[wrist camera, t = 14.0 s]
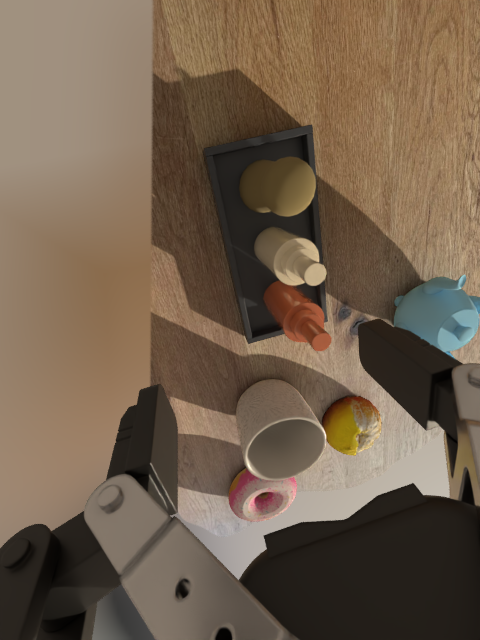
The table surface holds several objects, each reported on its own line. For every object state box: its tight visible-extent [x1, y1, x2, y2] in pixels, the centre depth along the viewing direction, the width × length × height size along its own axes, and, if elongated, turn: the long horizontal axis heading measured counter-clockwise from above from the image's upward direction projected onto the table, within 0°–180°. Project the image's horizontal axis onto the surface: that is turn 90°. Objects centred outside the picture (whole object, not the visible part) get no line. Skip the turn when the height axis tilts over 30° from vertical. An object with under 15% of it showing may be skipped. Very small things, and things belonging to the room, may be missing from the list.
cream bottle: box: [254, 227, 326, 286], centre depth 34 cm, size 5×5×14 cm
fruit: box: [322, 396, 382, 455], centre depth 55 cm, size 11×10×8 cm
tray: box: [203, 125, 328, 344], centre depth 39 cm, size 26×13×2 cm, turn 12°
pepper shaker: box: [239, 156, 316, 217], centre depth 31 cm, size 6×6×11 cm
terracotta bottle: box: [263, 280, 331, 351], centre depth 37 cm, size 5×5×14 cm
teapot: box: [394, 275, 480, 359], centre depth 45 cm, size 13×13×10 cm
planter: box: [236, 379, 326, 480], centre depth 47 cm, size 12×12×11 cm
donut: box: [229, 468, 297, 521], centre depth 58 cm, size 14×13×5 cm
